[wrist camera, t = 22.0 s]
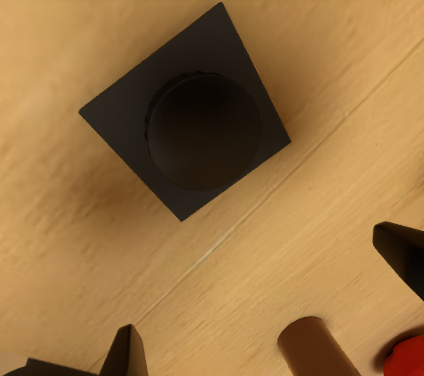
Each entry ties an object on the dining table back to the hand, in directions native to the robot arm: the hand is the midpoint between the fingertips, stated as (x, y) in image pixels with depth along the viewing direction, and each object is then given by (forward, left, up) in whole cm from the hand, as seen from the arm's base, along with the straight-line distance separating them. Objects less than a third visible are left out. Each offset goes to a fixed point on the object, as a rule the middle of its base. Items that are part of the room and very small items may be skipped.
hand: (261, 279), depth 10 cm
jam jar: (-2, -26, -12) cm, 29 cm away
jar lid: (+2, +2, -9) cm, 9 cm away
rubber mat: (+2, +2, -12) cm, 12 cm away
